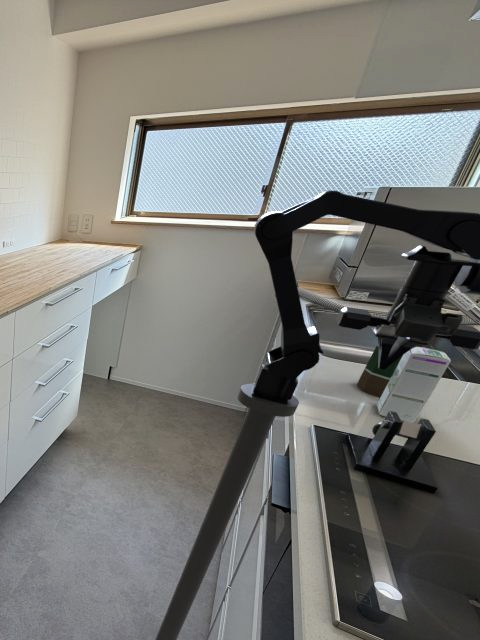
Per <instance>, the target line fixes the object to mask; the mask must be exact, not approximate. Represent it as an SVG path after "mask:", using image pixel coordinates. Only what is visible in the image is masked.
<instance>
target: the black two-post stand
mask: <svg viewBox="0 0 480 640" xmlns="http://www.w3.org/2000/svg"><path fill="white" fill-rule="evenodd" d="M380 423H381V426H380V428H379V429H378V431H377V433H376V434H375V435H373V438H369V437H365V436H361V435H357V434H354V433H351V432H347V434H346V435H345V437H344V438H345V442H346V446H347V449H348V453H349V457H350V461H351V464H352V467H353V470H354V471H358V472H361V473H364V474H368V475H371V476H374V477H378V478H381V479H384V480H388V481H392V482H395V483H398V484H402V485H403V486H404V485H405V486H408V487H411V488H415V489H418V490H420V491H421V490H422V491H424V492H428V493H431V494H435V493H436V492H437V491H438V489H439V486H438V485H437V483H436V481H435V479H434V477H433V476H432V473H431V472H430V470H429V467H428V466H427V464H426V462H425V460H424V458H423V457H422V453H424V450H426V447H428V445H429V443H430V442H431V440H432V438H433V437H434V436H435V434H436V433H437V431H436V429H435V427H434V425H433V424H432V423H431V421H430V420H429V419H426V418H421V417H420V418H419V420H418V422H417V423H416V424H420V425H421V427H420V430H419V433H418V436H417V438H413V439H408V438H406V441H405V442H404V444H403V446H400V445H399V446H398V445H395V444H391V443H392V441H393V439H394V438H395V436H396V433H397V431H398V430H399V428H400V426H401V425H402V421H401V420H400V418H399V416H398V414H397V412H393V411H389V412H388V414H387V416H386V417H385V416H384V419H383V420H382V421H381V422H380Z"/></svg>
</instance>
